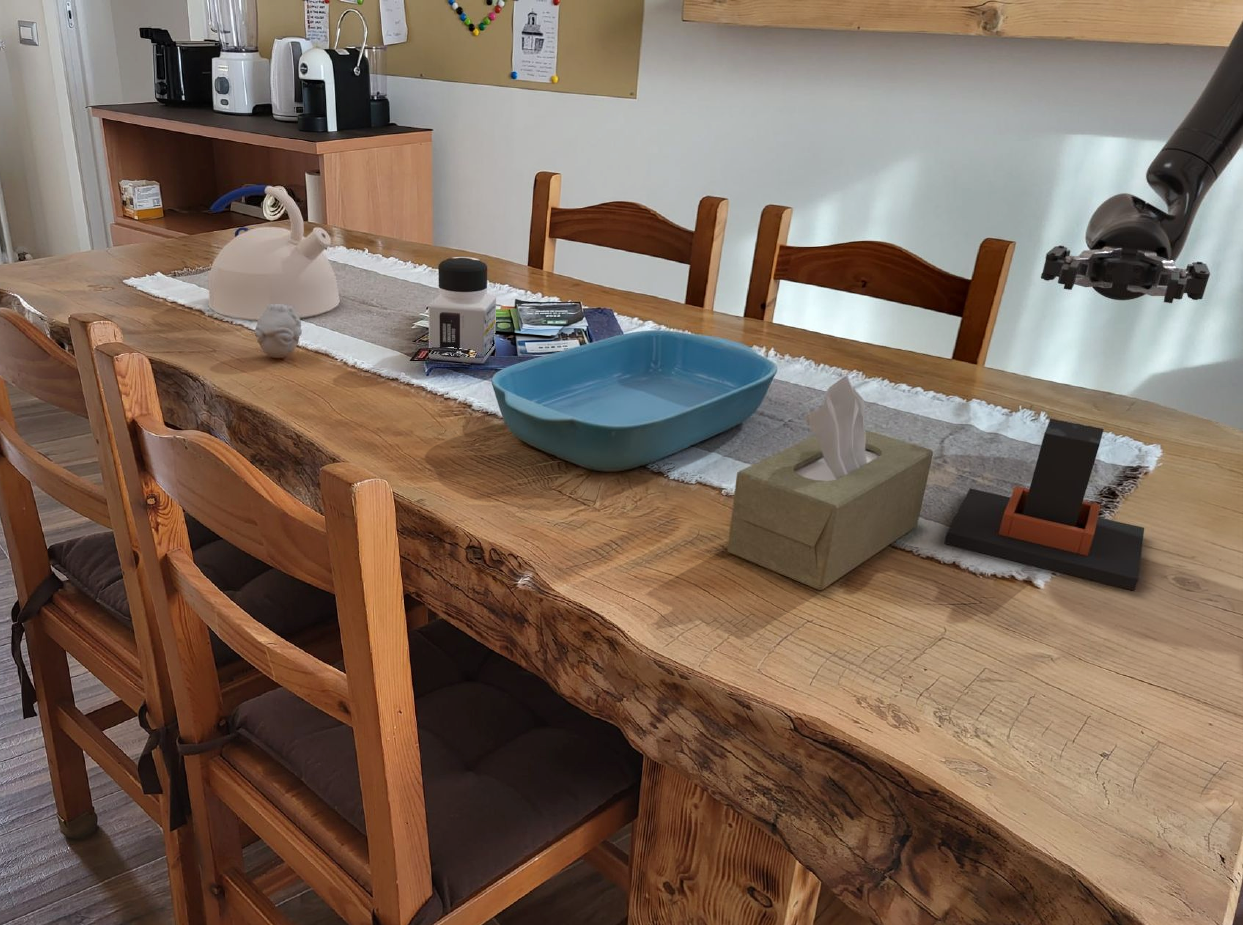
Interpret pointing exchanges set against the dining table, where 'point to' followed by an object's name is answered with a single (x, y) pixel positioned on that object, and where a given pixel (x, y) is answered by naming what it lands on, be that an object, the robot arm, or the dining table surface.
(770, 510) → the tissue box
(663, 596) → the dining table surface
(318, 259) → the kettle
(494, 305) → the container
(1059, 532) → the base mat
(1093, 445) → the black rectangular block
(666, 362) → the casserole dish
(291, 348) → the grey rounded lump
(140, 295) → the dining table surface
